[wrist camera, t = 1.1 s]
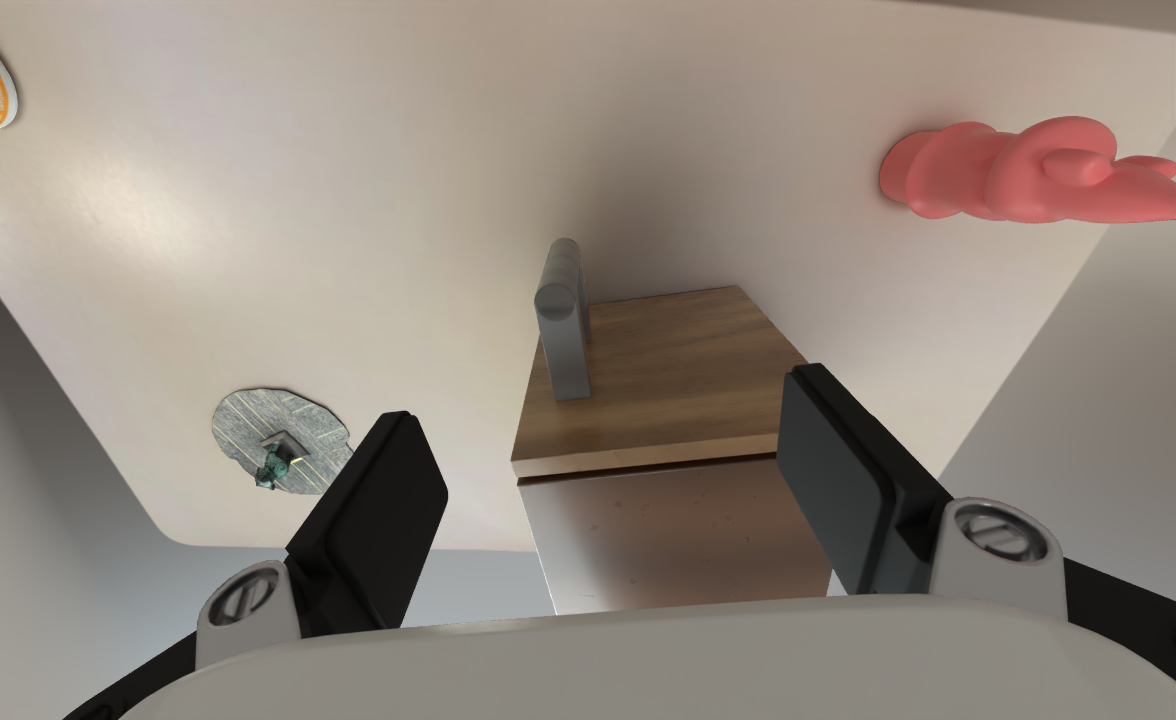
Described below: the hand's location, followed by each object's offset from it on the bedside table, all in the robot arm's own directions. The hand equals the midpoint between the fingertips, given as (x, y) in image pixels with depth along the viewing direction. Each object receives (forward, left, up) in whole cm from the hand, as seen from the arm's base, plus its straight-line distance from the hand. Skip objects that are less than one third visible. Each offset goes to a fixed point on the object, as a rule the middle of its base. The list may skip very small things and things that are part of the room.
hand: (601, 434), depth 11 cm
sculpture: (+32, -2, -21) cm, 38 cm away
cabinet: (+3, +12, -20) cm, 24 cm away
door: (-1, +3, -20) cm, 20 cm away
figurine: (-19, +9, -21) cm, 29 cm away
